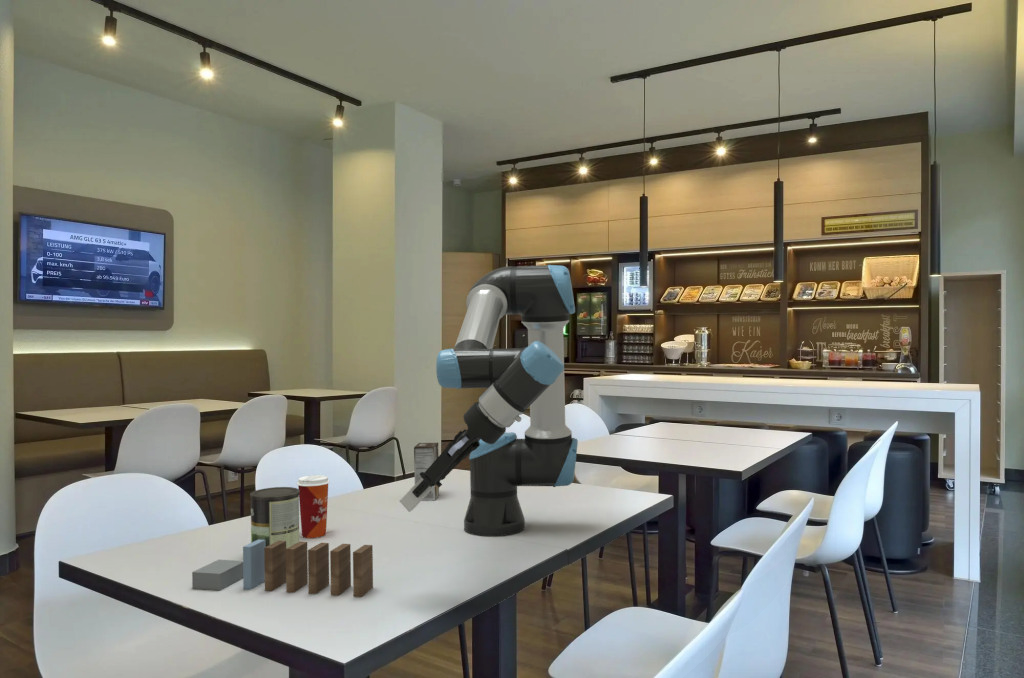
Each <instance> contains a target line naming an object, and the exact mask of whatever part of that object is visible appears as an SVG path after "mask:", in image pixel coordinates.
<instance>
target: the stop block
mask: <svg viewBox="0 0 1024 678" xmlns="http://www.w3.org/2000/svg"><path fill="white" fill-rule="evenodd" d="M191 574H192V575H191V576H192V579H191V580H192V582H191V587H192V589H194V590H195V589H197V590H212V591H222V590H224V589H225V588H228V587H229V586H231V585H233V584H235V583H237V582H239V581H240V580H242V579H243V560H235V559H234V560H231V559H217V560H214V561H212V562H211V563H208V564H206V565H204V566H202V567H200V568H198V569H196V570H193V571H192V572H191Z"/></svg>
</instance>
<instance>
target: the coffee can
mask: <svg viewBox="0 0 1024 678" xmlns="http://www.w3.org/2000/svg"><path fill="white" fill-rule="evenodd" d="M299 493H300V490H299V488H297V487H292V486H289V487H288V486H276V487H266V488H261V489H257V490H254V491H252V492H250V493H249V495H250V532H251V533H250V537H251V538H250V539H251V540H250V543H252V542H254V541H256V540H266V547H267V546H269V545H271V544H273V543H275V542H277V541H286V549H287V548H289V547H290V546H292V545H294V544H296V543H298V542H300V502H299Z"/></svg>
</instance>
